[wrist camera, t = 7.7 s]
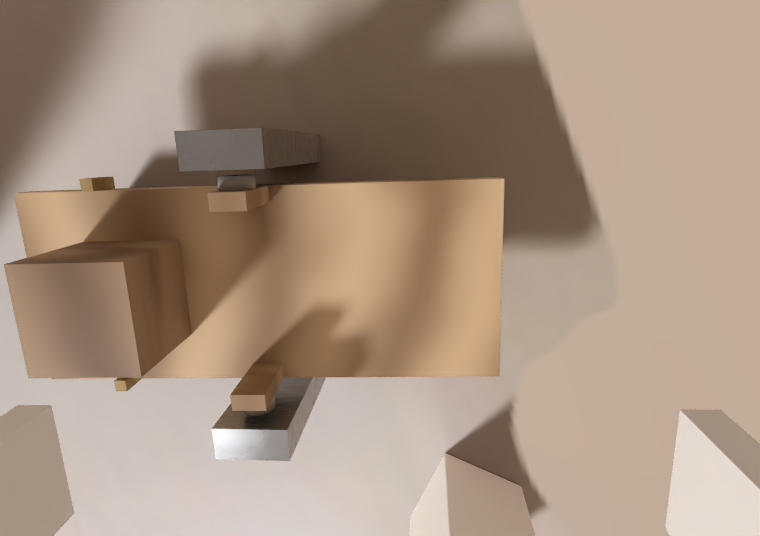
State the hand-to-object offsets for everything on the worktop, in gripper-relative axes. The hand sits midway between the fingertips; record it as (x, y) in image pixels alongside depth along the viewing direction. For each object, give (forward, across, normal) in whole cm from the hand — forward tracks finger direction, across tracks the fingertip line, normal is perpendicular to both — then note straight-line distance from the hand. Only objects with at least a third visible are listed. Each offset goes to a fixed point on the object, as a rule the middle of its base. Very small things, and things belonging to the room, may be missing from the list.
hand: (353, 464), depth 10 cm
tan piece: (+20, -7, 0) cm, 21 cm away
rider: (+14, -13, 0) cm, 19 cm away
